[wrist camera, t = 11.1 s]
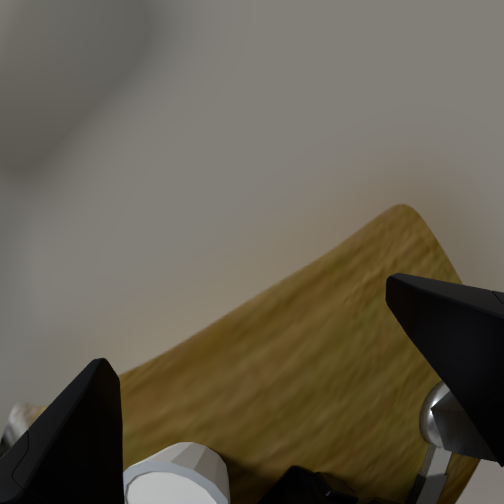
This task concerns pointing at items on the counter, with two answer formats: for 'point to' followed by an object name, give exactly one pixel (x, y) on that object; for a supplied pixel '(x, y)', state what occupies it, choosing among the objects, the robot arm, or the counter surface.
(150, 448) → the counter surface
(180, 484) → the white tapered cup
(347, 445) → the counter surface
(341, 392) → the counter surface
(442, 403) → the dark grey square block
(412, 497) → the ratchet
